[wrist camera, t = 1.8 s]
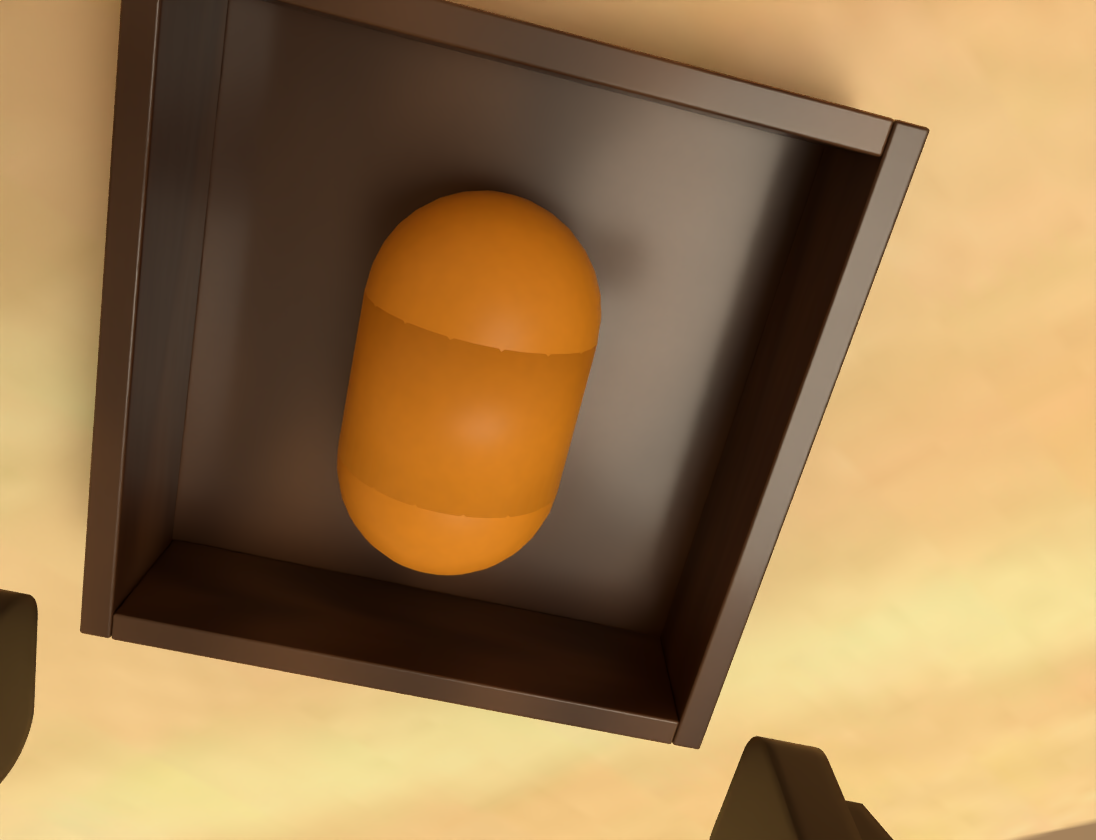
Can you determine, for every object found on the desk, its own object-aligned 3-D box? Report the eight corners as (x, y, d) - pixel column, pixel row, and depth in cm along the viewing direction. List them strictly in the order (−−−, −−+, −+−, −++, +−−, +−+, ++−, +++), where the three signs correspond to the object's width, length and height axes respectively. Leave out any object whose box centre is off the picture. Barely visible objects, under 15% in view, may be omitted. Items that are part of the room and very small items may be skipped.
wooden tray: (148, 551, 27) (77, 633, 22) (203, -51, 21) (125, -85, 17) (676, 656, 28) (700, 750, 24) (860, 121, 22) (931, 128, 18)
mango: (345, 490, 26) (296, 594, 20) (404, 155, 22) (364, 175, 17) (533, 530, 26) (532, 640, 21) (617, 208, 23) (642, 243, 18)
